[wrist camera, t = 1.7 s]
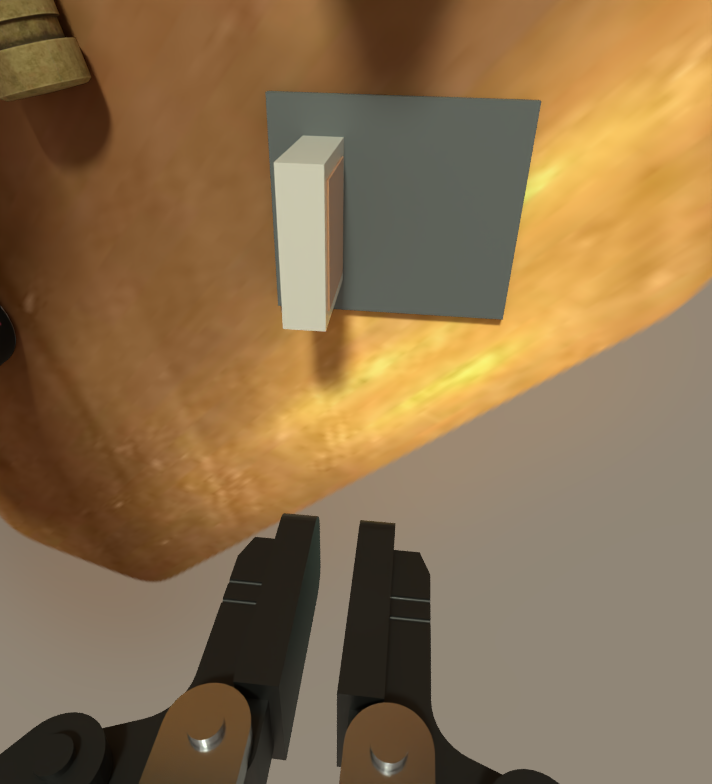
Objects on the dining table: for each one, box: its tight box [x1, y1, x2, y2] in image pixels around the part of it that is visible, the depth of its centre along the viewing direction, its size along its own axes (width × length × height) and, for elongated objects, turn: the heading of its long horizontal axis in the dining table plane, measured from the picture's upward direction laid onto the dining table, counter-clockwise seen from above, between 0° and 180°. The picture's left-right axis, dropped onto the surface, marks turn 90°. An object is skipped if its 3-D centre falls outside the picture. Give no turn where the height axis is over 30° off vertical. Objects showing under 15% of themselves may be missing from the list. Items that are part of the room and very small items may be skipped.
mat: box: [266, 91, 541, 320], centre depth 32 cm, size 14×12×1 cm
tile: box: [274, 136, 344, 332], centre depth 30 cm, size 2×8×7 cm, turn 179°
